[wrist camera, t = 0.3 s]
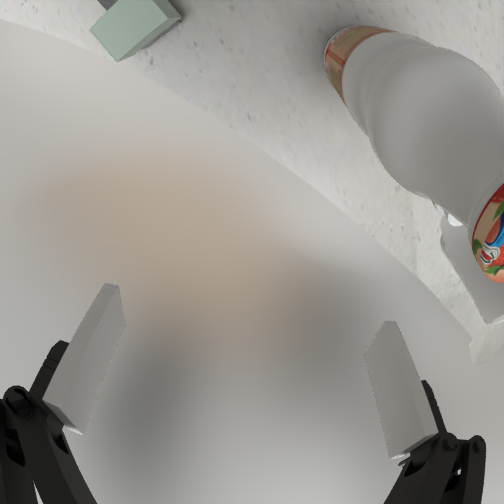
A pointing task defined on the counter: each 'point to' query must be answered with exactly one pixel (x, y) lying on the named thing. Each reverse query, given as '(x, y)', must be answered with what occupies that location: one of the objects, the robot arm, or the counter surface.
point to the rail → (109, 0)
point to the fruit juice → (429, 126)
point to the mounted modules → (133, 25)
